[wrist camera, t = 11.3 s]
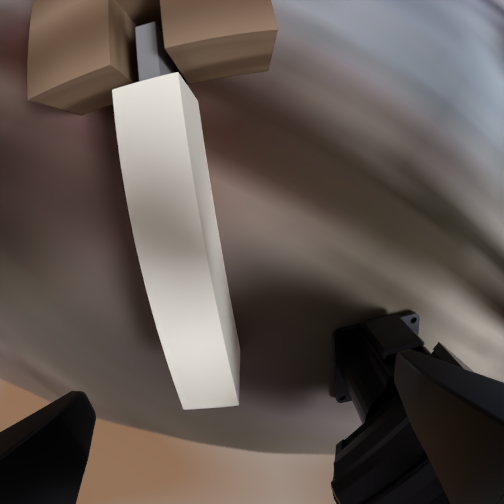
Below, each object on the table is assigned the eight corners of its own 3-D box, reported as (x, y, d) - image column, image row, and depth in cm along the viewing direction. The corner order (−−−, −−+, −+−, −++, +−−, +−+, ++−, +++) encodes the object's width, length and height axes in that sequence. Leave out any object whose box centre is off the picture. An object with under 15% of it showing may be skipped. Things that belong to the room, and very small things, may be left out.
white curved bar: (240, 348, 21) (239, 405, 15) (197, 353, 21) (183, 409, 15) (191, 51, 16) (171, 7, 10) (144, 62, 16) (109, 25, 11)
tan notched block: (268, 71, 17) (277, 29, 11) (81, 115, 17) (27, 100, 11) (242, -45, 14) (242, -99, 8) (79, -2, 14) (40, -38, 9)
